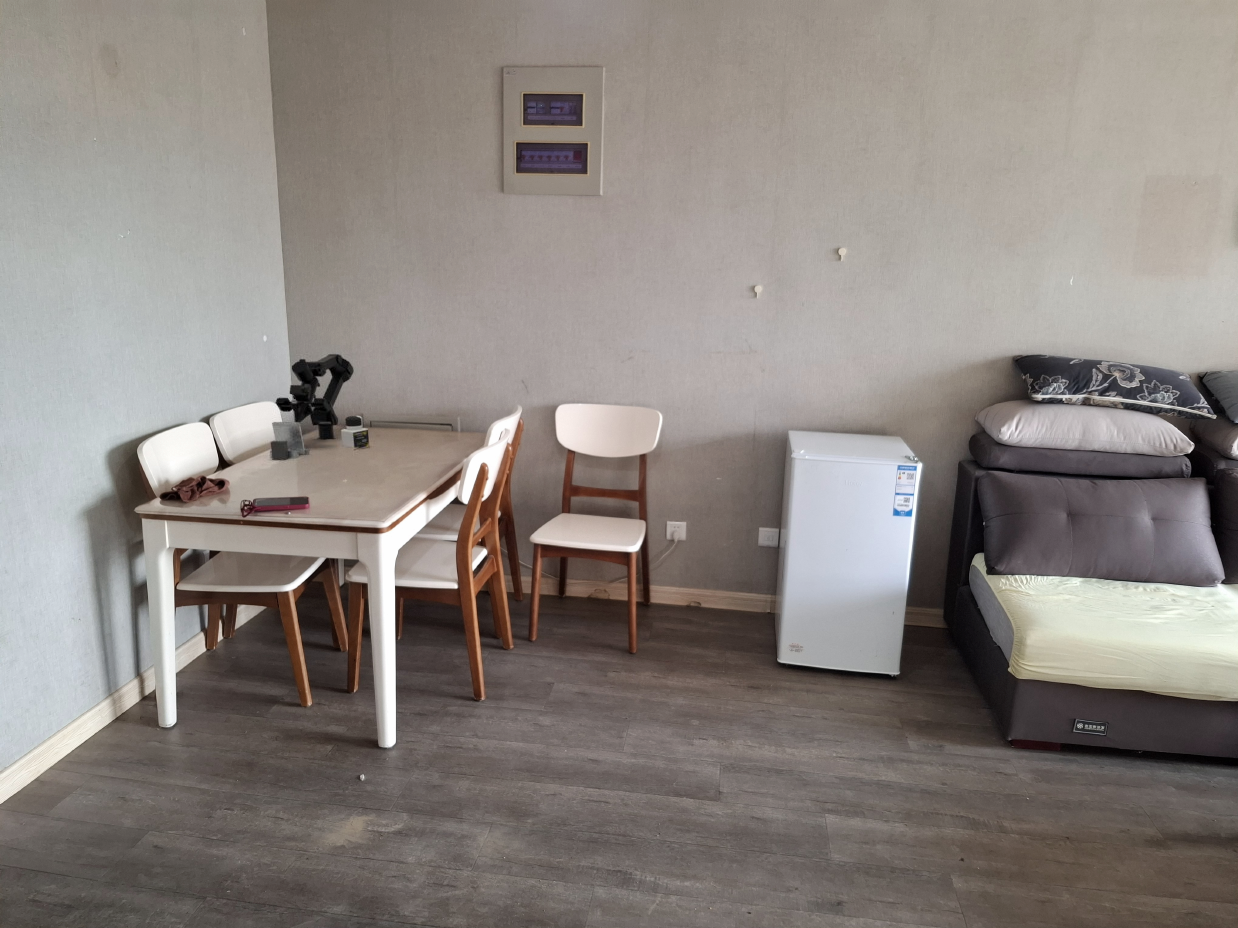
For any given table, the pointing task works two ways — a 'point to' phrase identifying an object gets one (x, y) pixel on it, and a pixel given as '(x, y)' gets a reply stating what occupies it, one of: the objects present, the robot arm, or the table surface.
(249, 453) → the table surface
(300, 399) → the robot arm
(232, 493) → the table surface
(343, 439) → the medicine bottle
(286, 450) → the heat sink
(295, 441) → the gray rectangular panel
